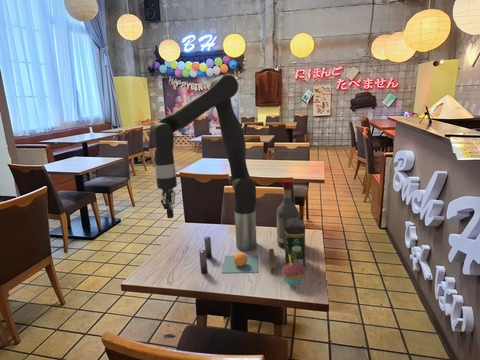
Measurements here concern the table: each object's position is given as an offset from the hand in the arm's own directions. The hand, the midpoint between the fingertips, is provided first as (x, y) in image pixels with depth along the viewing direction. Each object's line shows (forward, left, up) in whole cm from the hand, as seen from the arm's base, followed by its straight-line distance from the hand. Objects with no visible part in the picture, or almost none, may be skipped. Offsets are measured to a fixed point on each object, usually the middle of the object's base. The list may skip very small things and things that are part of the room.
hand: (170, 217), depth 126 cm
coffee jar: (-49, +1, -21) cm, 53 cm away
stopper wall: (-40, 0, -21) cm, 45 cm away
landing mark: (-27, 0, -21) cm, 34 cm away
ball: (-27, +1, -18) cm, 33 cm away
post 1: (-13, +6, -21) cm, 25 cm away
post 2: (-13, -6, -21) cm, 25 cm away
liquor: (-48, -17, -21) cm, 55 cm away
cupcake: (-47, +14, -21) cm, 53 cm away
